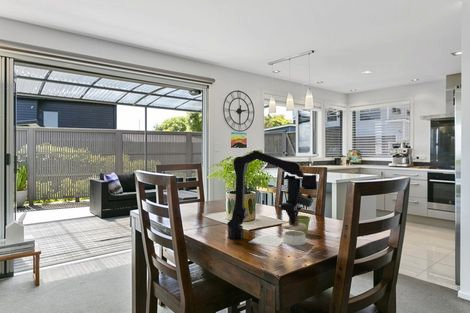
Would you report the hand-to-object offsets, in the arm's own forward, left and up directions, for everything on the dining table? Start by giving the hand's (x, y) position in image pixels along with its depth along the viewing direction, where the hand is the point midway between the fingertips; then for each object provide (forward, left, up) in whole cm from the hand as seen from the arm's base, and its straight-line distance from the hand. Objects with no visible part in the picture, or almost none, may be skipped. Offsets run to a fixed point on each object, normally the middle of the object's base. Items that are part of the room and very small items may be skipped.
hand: (293, 223), depth 139 cm
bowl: (0, 0, -9) cm, 9 cm away
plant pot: (-2, +17, -9) cm, 20 cm away
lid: (0, 0, -2) cm, 2 cm away
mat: (-11, -4, -9) cm, 15 cm away
